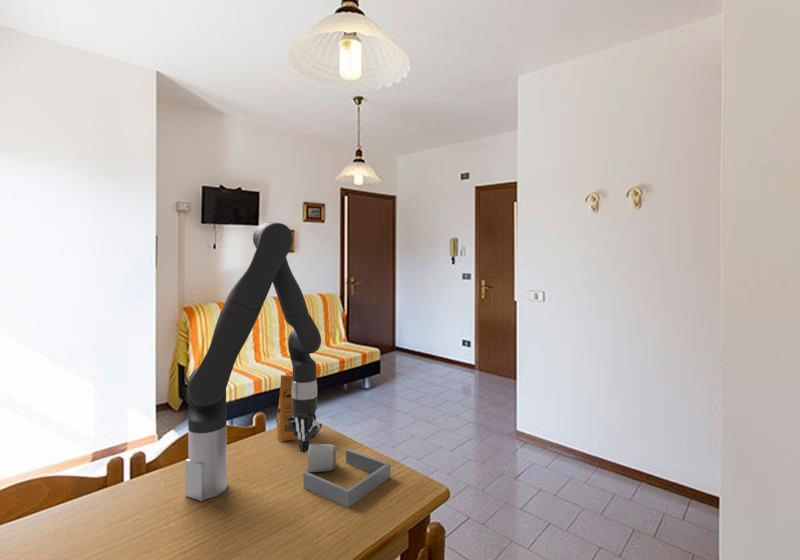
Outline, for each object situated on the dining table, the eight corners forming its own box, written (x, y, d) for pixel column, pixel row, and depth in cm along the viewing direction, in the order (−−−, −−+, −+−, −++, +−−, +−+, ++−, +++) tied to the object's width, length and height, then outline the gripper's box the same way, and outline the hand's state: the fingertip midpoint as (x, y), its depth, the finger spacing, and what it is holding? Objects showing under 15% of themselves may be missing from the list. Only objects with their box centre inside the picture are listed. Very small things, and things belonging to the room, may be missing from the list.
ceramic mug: (336, 475, 118) (336, 448, 118) (306, 477, 117) (307, 450, 117) (335, 458, 128) (335, 434, 128) (309, 460, 127) (309, 435, 127)
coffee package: (276, 432, 148) (276, 371, 148) (312, 429, 151) (312, 369, 151) (275, 443, 139) (275, 379, 138) (313, 440, 142) (313, 376, 141)
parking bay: (347, 507, 102) (348, 492, 102) (303, 487, 111) (303, 473, 111) (390, 477, 117) (390, 463, 117) (348, 461, 126) (348, 449, 126)
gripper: (279, 393, 124) (279, 450, 125) (310, 402, 117) (310, 462, 117) (298, 387, 130) (298, 441, 131) (329, 395, 123) (329, 452, 124)
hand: (304, 451), depth 124 cm, fingers closed
